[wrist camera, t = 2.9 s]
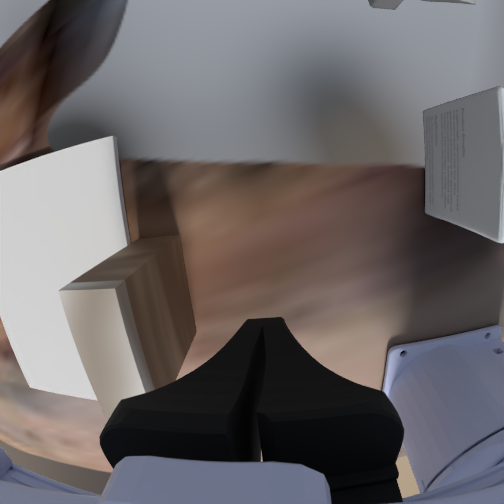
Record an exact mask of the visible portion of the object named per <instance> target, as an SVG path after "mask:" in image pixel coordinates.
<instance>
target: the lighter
mask: <svg viewBox="0 0 504 504" xmlns="http://www.w3.org/2000/svg"><path fill="white" fill-rule="evenodd" d="M368 1H369V4H370V6H371V7H373V8H381V9H393V10H395V9H396V8H397V7H398V6H399V4H400V3H401V2H402V1H403V0H368ZM423 1H431V2H432V1H433V2H451V3H464V4H474V5H475V0H423Z"/></svg>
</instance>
